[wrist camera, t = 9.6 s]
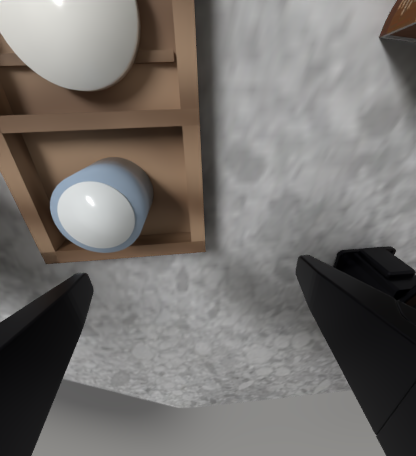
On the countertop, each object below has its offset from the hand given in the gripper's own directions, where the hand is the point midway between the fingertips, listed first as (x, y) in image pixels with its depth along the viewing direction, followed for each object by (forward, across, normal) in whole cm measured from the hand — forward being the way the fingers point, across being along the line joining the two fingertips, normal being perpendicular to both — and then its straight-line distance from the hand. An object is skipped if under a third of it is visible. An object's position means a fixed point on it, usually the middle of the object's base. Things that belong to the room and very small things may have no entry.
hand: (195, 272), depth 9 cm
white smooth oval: (+10, +6, -11) cm, 16 cm away
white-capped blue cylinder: (+11, +6, 0) cm, 12 cm away
